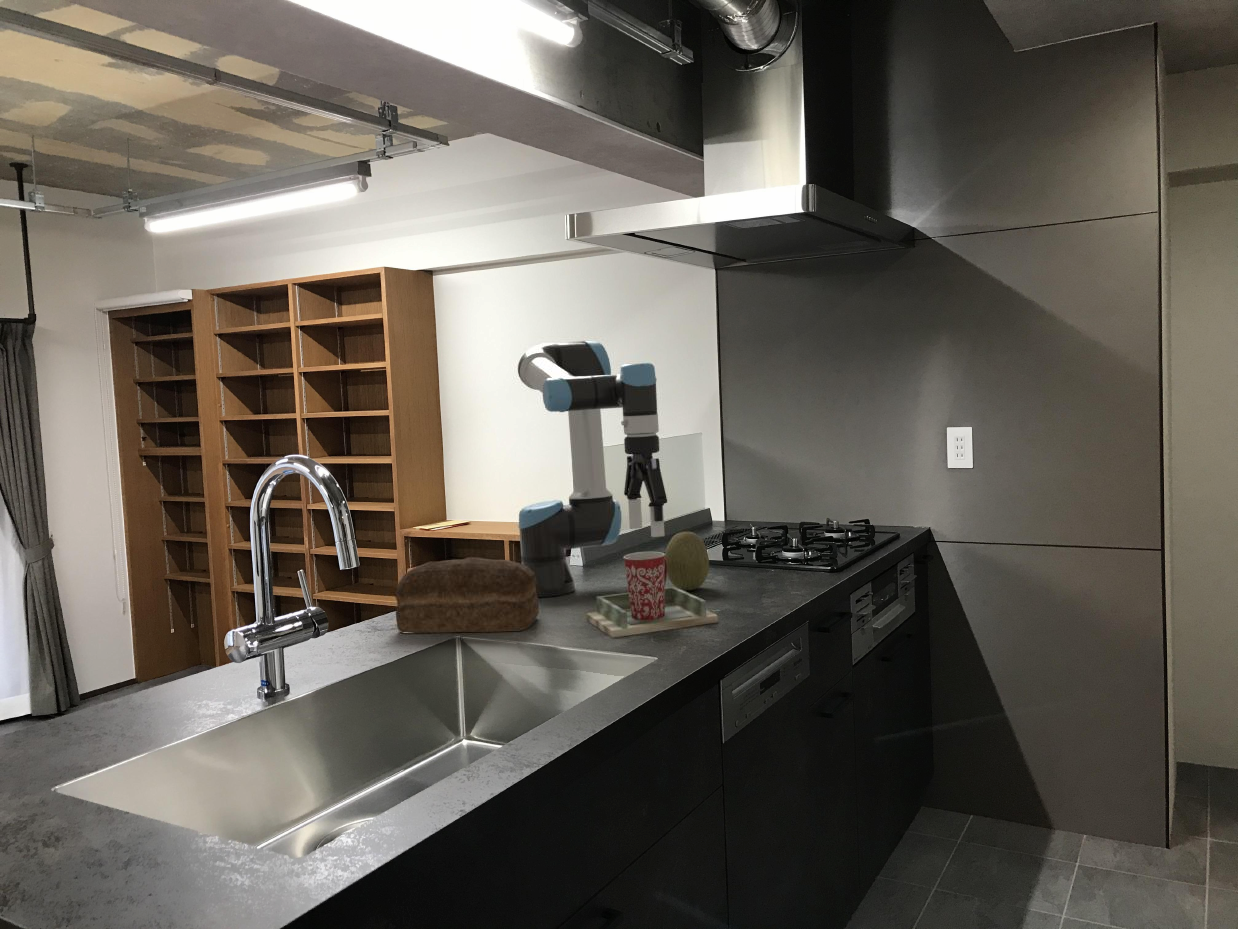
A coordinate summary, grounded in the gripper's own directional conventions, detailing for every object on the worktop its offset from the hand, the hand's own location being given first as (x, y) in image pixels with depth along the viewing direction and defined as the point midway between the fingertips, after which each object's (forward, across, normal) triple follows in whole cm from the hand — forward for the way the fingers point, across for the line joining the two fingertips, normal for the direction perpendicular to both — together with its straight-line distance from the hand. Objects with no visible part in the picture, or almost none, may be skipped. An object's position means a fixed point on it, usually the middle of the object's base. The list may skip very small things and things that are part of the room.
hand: (646, 532), depth 207 cm
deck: (+20, 0, 0) cm, 20 cm away
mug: (+18, +1, 0) cm, 18 cm away
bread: (+20, -20, -37) cm, 46 cm away
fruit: (+20, -26, +20) cm, 39 cm away
